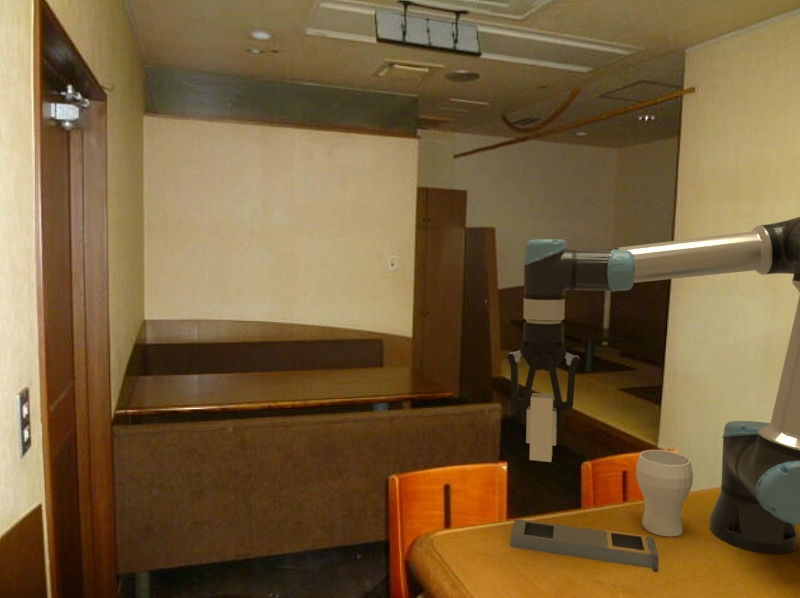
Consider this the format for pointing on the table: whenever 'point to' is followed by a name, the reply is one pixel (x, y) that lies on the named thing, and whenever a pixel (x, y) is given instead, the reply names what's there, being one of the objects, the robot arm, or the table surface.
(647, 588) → the table surface
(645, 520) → the cup
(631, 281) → the robot arm
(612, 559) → the grey peg hole board
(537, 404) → the peg
